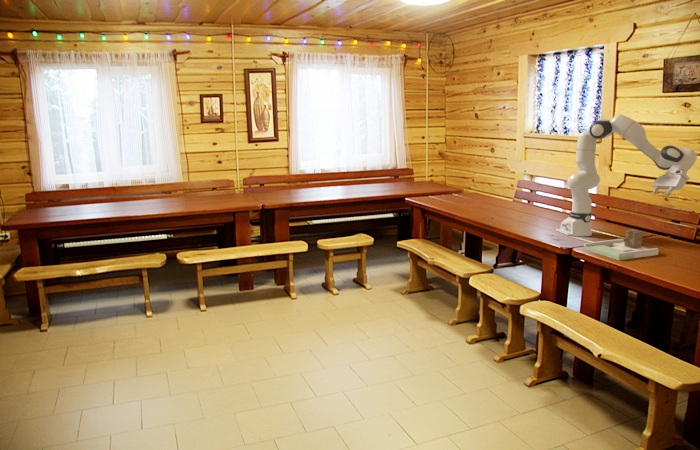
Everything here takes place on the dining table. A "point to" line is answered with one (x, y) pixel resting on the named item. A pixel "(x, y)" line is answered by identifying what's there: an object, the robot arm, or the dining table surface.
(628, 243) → the walnut block
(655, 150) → the robot arm
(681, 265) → the dining table surface
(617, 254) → the board
